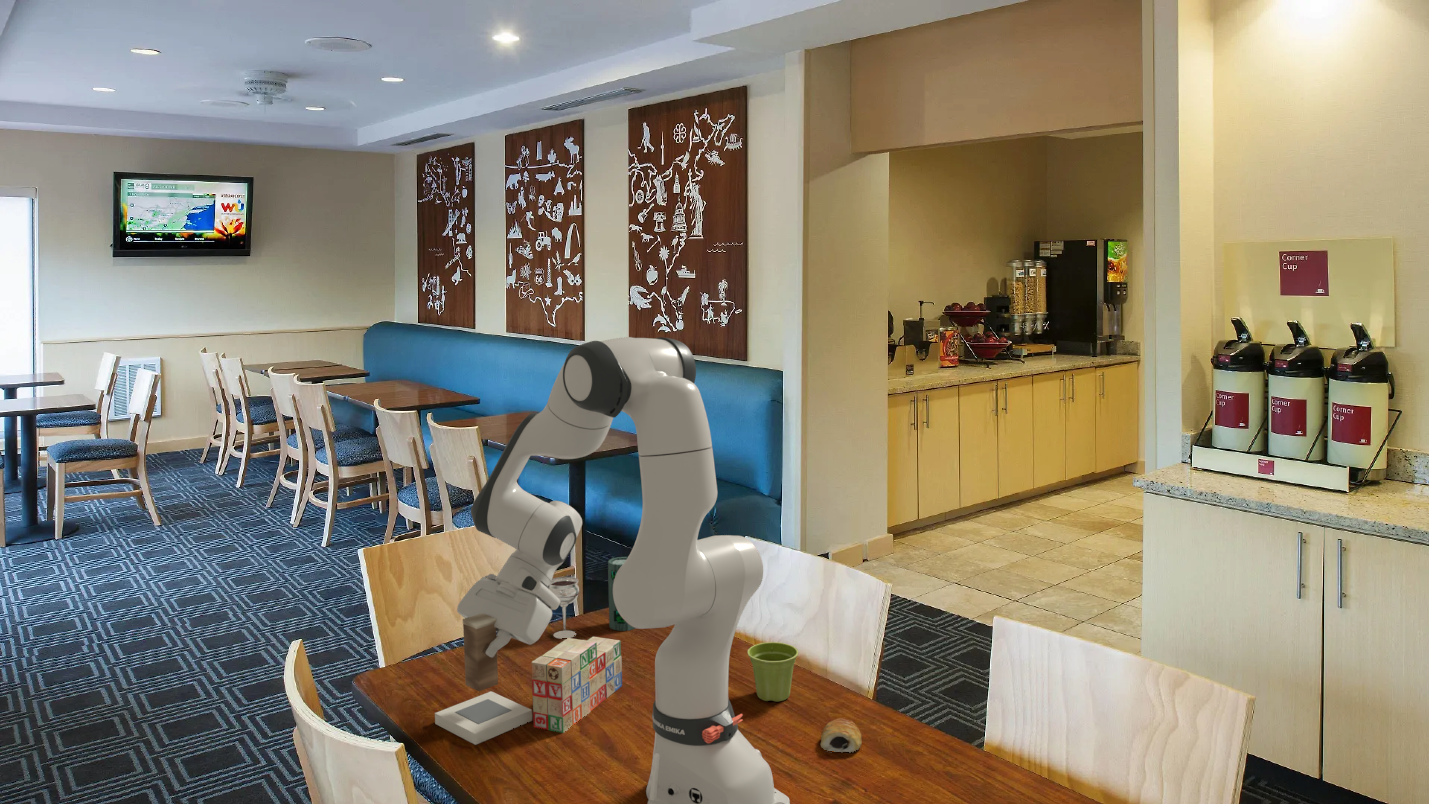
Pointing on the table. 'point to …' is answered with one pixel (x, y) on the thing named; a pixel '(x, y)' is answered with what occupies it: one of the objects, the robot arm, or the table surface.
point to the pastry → (841, 736)
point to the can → (614, 617)
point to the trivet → (483, 717)
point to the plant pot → (773, 669)
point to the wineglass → (565, 599)
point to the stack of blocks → (574, 681)
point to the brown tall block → (479, 652)
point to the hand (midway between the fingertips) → (477, 651)
